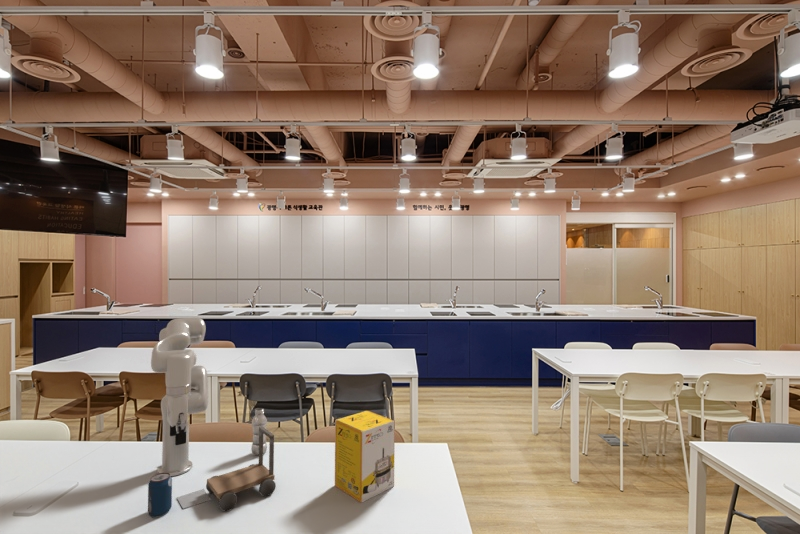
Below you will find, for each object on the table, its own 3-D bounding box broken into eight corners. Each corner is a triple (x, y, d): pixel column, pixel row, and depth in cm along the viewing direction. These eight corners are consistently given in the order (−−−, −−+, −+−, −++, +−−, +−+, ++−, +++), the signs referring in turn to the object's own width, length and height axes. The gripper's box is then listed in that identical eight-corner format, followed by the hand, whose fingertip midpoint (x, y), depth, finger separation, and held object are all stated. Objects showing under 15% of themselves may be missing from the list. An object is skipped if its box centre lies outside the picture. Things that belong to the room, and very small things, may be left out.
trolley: (219, 514, 135) (220, 452, 136) (205, 494, 147) (206, 437, 148) (276, 493, 148) (276, 437, 149) (258, 476, 160) (259, 424, 161)
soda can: (176, 507, 139) (176, 472, 139) (162, 519, 132) (163, 482, 132) (157, 505, 140) (158, 471, 140) (142, 517, 133) (143, 481, 133)
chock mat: (176, 498, 144) (176, 497, 144) (203, 489, 150) (203, 488, 150) (183, 509, 138) (183, 508, 138) (210, 499, 144) (210, 499, 144)
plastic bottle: (262, 457, 177) (262, 412, 177) (248, 456, 178) (248, 411, 179) (269, 451, 183) (270, 407, 184) (256, 450, 185) (256, 406, 185)
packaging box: (367, 471, 165) (367, 410, 166) (394, 486, 154) (394, 420, 154) (334, 485, 154) (335, 420, 155) (361, 502, 142) (361, 431, 143)
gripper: (162, 386, 144) (161, 434, 143) (171, 397, 130) (170, 450, 130) (185, 383, 149) (184, 429, 148) (196, 393, 135) (195, 444, 135)
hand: (177, 439), depth 139 cm, fingers open, 9 cm apart
